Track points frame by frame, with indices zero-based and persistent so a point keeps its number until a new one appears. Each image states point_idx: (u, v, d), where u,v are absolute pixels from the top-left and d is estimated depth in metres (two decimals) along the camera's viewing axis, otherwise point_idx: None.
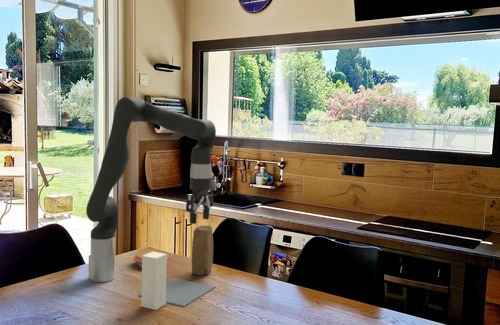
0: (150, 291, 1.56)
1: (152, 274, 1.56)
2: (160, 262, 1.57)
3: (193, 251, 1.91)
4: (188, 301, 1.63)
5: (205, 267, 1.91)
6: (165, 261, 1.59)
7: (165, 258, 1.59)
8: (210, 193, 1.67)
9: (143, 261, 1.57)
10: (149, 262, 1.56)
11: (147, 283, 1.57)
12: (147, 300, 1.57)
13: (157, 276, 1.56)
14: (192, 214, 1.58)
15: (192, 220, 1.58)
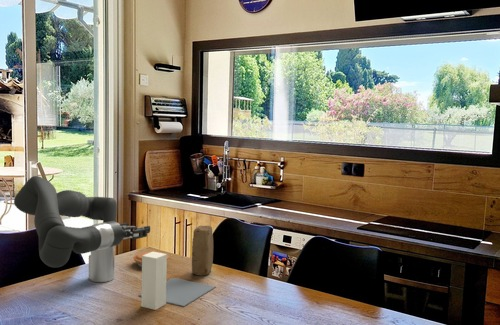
0: (150, 291, 1.56)
1: (152, 274, 1.56)
2: (160, 262, 1.57)
3: (193, 251, 1.91)
4: (188, 301, 1.63)
5: (205, 267, 1.91)
6: (165, 261, 1.59)
7: (165, 258, 1.59)
8: None
9: (143, 261, 1.57)
10: (149, 262, 1.56)
11: (147, 283, 1.57)
12: (147, 300, 1.57)
13: (157, 276, 1.56)
14: None
15: None
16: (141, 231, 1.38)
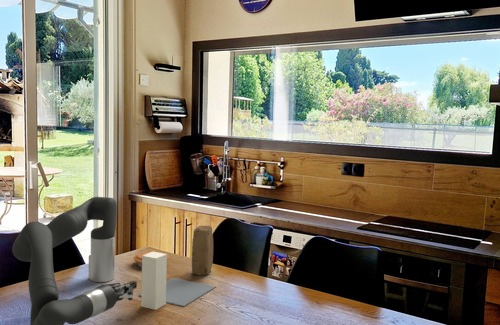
0: (150, 291, 1.56)
1: (152, 274, 1.56)
2: (160, 262, 1.57)
3: (193, 251, 1.91)
4: (188, 301, 1.63)
5: (205, 267, 1.91)
6: (165, 261, 1.59)
7: (165, 258, 1.59)
8: (128, 297, 1.40)
9: (143, 261, 1.57)
10: (149, 262, 1.56)
11: (147, 283, 1.57)
12: (147, 300, 1.57)
13: (157, 276, 1.56)
14: None
15: None
16: (132, 290, 1.42)
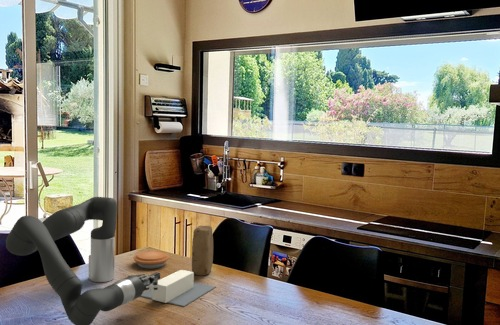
0: (170, 280, 1.67)
1: (182, 275, 1.73)
2: (190, 279, 1.75)
3: (193, 251, 1.91)
4: (188, 301, 1.63)
5: (205, 267, 1.91)
6: (190, 287, 1.75)
7: (191, 286, 1.76)
8: (153, 287, 1.51)
9: (179, 271, 1.78)
10: (185, 272, 1.77)
11: (171, 277, 1.70)
12: (163, 282, 1.65)
13: (184, 278, 1.71)
14: None
15: None
16: (157, 281, 1.53)
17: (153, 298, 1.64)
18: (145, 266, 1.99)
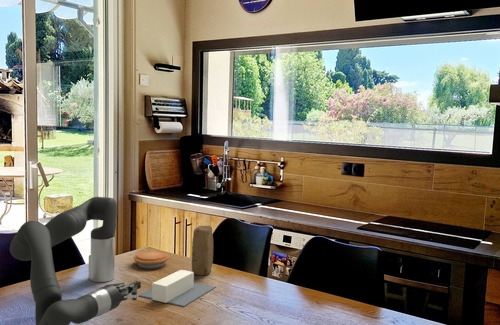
0: (170, 280, 1.67)
1: (182, 275, 1.73)
2: (190, 279, 1.75)
3: (193, 251, 1.91)
4: (188, 301, 1.63)
5: (205, 267, 1.91)
6: (190, 287, 1.75)
7: (191, 286, 1.76)
8: (132, 297, 1.42)
9: (179, 271, 1.78)
10: (185, 272, 1.77)
11: (171, 277, 1.70)
12: (163, 282, 1.65)
13: (184, 278, 1.71)
14: None
15: None
16: (136, 290, 1.44)
17: (153, 298, 1.64)
18: (145, 266, 1.99)
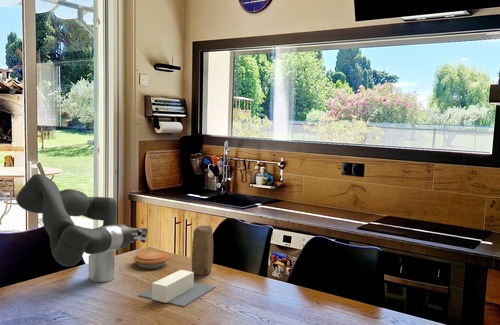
0: (170, 280, 1.67)
1: (182, 275, 1.73)
2: (190, 279, 1.75)
3: (193, 251, 1.91)
4: (188, 301, 1.63)
5: (205, 267, 1.91)
6: (190, 287, 1.75)
7: (191, 286, 1.76)
8: (141, 240, 1.41)
9: (179, 271, 1.78)
10: (185, 272, 1.77)
11: (171, 277, 1.70)
12: (163, 282, 1.65)
13: (184, 278, 1.71)
14: None
15: None
16: (145, 234, 1.43)
17: (153, 298, 1.64)
18: (145, 266, 1.99)
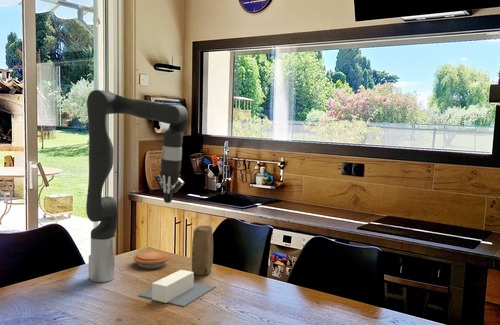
0: (170, 280, 1.67)
1: (182, 275, 1.73)
2: (190, 279, 1.75)
3: (193, 251, 1.91)
4: (188, 301, 1.63)
5: (205, 267, 1.91)
6: (190, 287, 1.75)
7: (191, 286, 1.76)
8: (178, 182, 1.70)
9: (179, 271, 1.78)
10: (185, 272, 1.77)
11: (171, 277, 1.70)
12: (163, 282, 1.65)
13: (184, 278, 1.71)
14: None
15: (164, 198, 1.75)
16: (180, 187, 1.72)
17: (153, 298, 1.64)
18: (145, 266, 1.99)
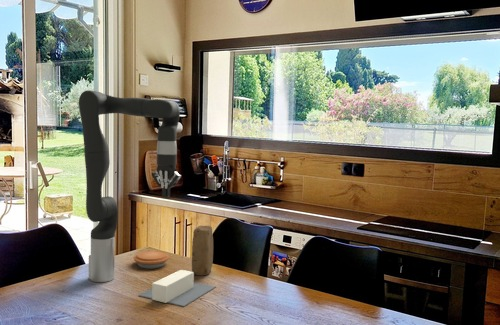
0: (170, 280, 1.67)
1: (182, 275, 1.73)
2: (190, 279, 1.75)
3: (193, 251, 1.91)
4: (188, 301, 1.63)
5: (205, 267, 1.91)
6: (190, 287, 1.75)
7: (191, 286, 1.76)
8: (175, 176, 1.72)
9: (179, 271, 1.78)
10: (185, 272, 1.77)
11: (171, 277, 1.70)
12: (163, 282, 1.65)
13: (184, 278, 1.71)
14: None
15: (162, 194, 1.76)
16: (177, 181, 1.74)
17: (153, 298, 1.64)
18: (145, 266, 1.99)
